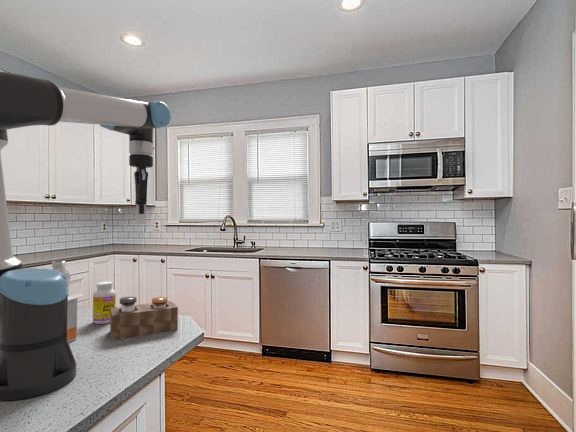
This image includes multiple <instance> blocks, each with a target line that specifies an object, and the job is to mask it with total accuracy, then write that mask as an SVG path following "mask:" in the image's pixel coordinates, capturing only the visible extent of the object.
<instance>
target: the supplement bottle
mask: <svg viewBox="0 0 576 432" xmlns="http://www.w3.org/2000/svg"><path fill="white" fill-rule="evenodd" d="M113 284H114V283H113V282H112V281H100V282H97V283H96V288H97V289H96V290H95V291H94V292H93V293H92V294H93V295H92V323H93V324H95V325H104V324H105V325H106V324H110V308H116V304H117V303H116V297H117V295H116V294H117V293H116V290H114V289H113V287H114V286H113Z"/></svg>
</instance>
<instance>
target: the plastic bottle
mask: <svg viewBox="0 0 576 432" xmlns="http://www.w3.org/2000/svg"><path fill="white" fill-rule="evenodd" d="M66 267H67V265H66V260H63V259H62V260H52V261H51V268H52V269H51V270H56V271H59V272H61V273H63V274H64V275H65V276H66V279H67V287H68V293H69V289H70V285H71V284H70V283H71V274H70V272H69V271H68V270H67V269H66Z"/></svg>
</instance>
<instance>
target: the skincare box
mask: <svg viewBox="0 0 576 432" xmlns="http://www.w3.org/2000/svg"><path fill="white" fill-rule="evenodd" d="M77 333H78V297H74V296H68V306H67V341H68V343H70V342H73V341H77V335H78V334H77Z"/></svg>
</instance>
